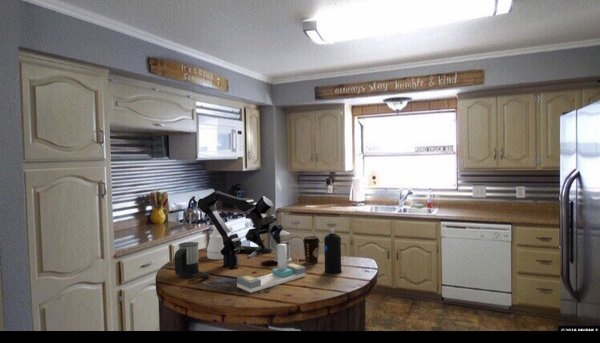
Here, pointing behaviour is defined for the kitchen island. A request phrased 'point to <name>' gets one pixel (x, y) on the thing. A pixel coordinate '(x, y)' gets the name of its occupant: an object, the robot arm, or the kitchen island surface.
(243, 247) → the door handle
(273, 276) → the rail
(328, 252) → the aerosol can
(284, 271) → the carriage
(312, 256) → the coffee cup
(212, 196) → the robot arm
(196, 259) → the milk frother
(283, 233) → the french press
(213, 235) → the white jug
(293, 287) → the kitchen island surface
